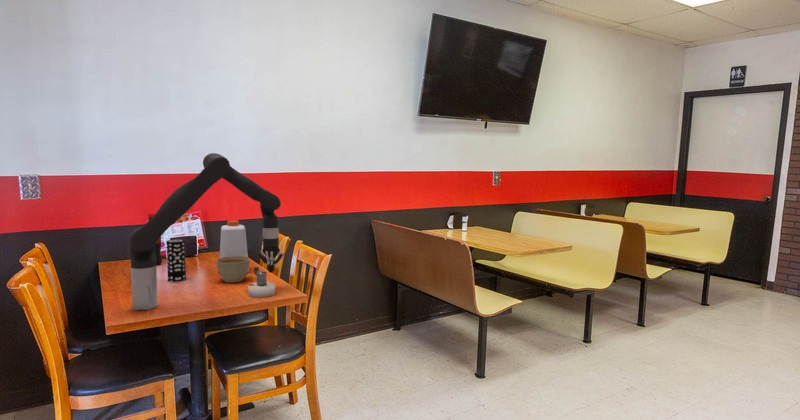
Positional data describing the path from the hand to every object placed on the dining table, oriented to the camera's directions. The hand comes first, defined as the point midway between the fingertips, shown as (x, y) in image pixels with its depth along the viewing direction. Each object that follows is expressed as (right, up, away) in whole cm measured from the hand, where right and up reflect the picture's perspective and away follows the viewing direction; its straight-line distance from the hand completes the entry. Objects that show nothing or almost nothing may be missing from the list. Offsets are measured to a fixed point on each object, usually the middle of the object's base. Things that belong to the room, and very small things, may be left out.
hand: (271, 272), depth 229 cm
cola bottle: (-78, -2, +41) cm, 88 cm away
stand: (-2, -9, -9) cm, 13 cm away
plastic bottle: (-28, -4, +30) cm, 41 cm away
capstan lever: (-4, -4, -6) cm, 8 cm away
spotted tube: (-51, -6, +11) cm, 52 cm away
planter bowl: (-23, -6, +12) cm, 26 cm away
